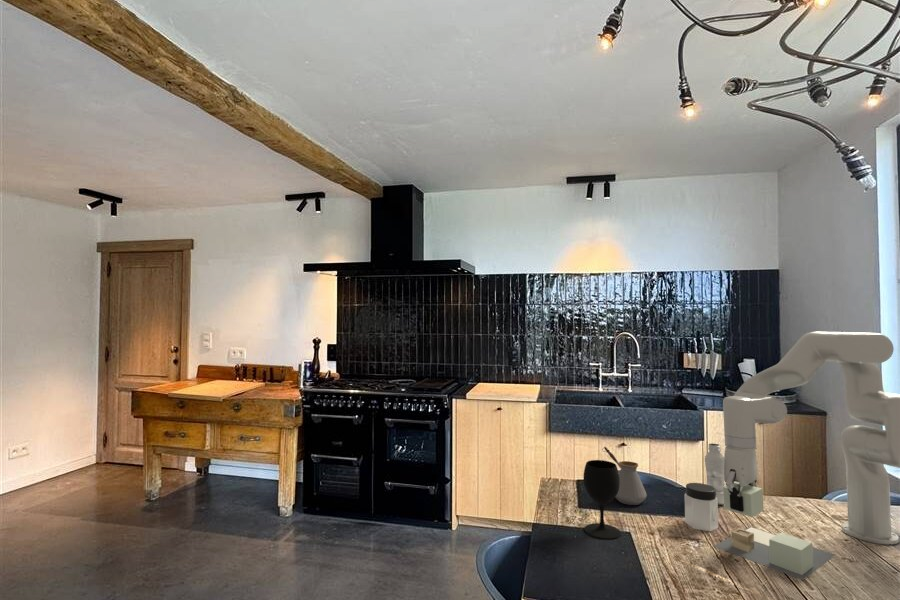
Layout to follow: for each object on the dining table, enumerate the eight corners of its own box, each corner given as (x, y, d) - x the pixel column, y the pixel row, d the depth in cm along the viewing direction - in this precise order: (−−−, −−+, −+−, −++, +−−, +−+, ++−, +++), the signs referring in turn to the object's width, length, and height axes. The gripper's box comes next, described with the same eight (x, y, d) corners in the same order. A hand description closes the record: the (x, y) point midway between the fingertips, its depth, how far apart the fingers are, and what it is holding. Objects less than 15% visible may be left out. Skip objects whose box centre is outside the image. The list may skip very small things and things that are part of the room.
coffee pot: (654, 505, 161) (653, 461, 162) (624, 508, 158) (623, 463, 159) (618, 484, 182) (617, 445, 182) (591, 487, 179) (590, 447, 180)
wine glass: (621, 542, 134) (619, 471, 135) (583, 536, 137) (582, 467, 138) (620, 527, 144) (619, 460, 145) (585, 522, 147) (584, 457, 148)
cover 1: (736, 502, 135) (735, 481, 135) (763, 510, 129) (762, 488, 130) (724, 508, 131) (723, 487, 131) (751, 517, 125) (750, 494, 126)
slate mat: (750, 528, 143) (750, 526, 143) (836, 556, 125) (835, 554, 126) (713, 548, 130) (713, 545, 130) (802, 582, 113) (802, 579, 113)
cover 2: (781, 555, 125) (780, 532, 125) (813, 566, 119) (812, 542, 120) (770, 563, 121) (769, 539, 121) (802, 575, 115) (801, 550, 116)
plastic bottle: (702, 503, 163) (701, 444, 164) (708, 498, 167) (707, 441, 168) (723, 508, 158) (721, 448, 159) (729, 503, 163) (727, 444, 164)
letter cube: (738, 542, 132) (738, 527, 133) (754, 548, 129) (753, 532, 129) (731, 546, 130) (731, 531, 130) (747, 552, 127) (747, 536, 127)
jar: (707, 535, 138) (706, 494, 139) (680, 525, 145) (679, 486, 146) (722, 528, 143) (721, 488, 144) (696, 518, 150) (695, 480, 150)
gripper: (740, 434, 139) (743, 495, 138) (710, 444, 129) (713, 510, 129) (769, 439, 133) (772, 503, 132) (739, 450, 123) (743, 519, 122)
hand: (743, 505), depth 130 cm, fingers closed on cover 1, 7 cm apart
